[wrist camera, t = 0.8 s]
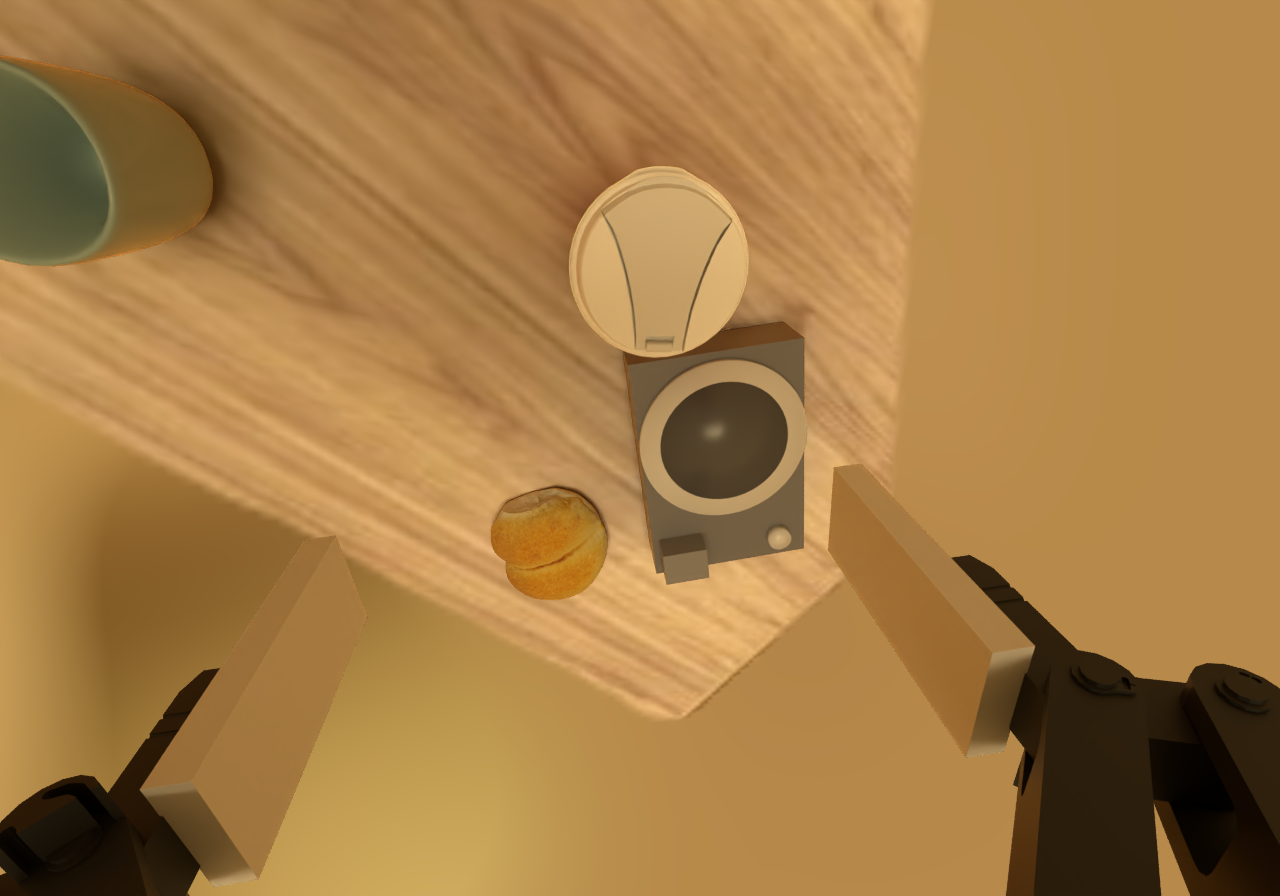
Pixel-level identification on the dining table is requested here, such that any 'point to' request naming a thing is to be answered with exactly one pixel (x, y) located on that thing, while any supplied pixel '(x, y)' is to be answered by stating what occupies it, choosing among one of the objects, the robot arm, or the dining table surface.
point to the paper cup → (658, 262)
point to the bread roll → (550, 543)
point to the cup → (92, 167)
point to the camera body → (721, 448)
